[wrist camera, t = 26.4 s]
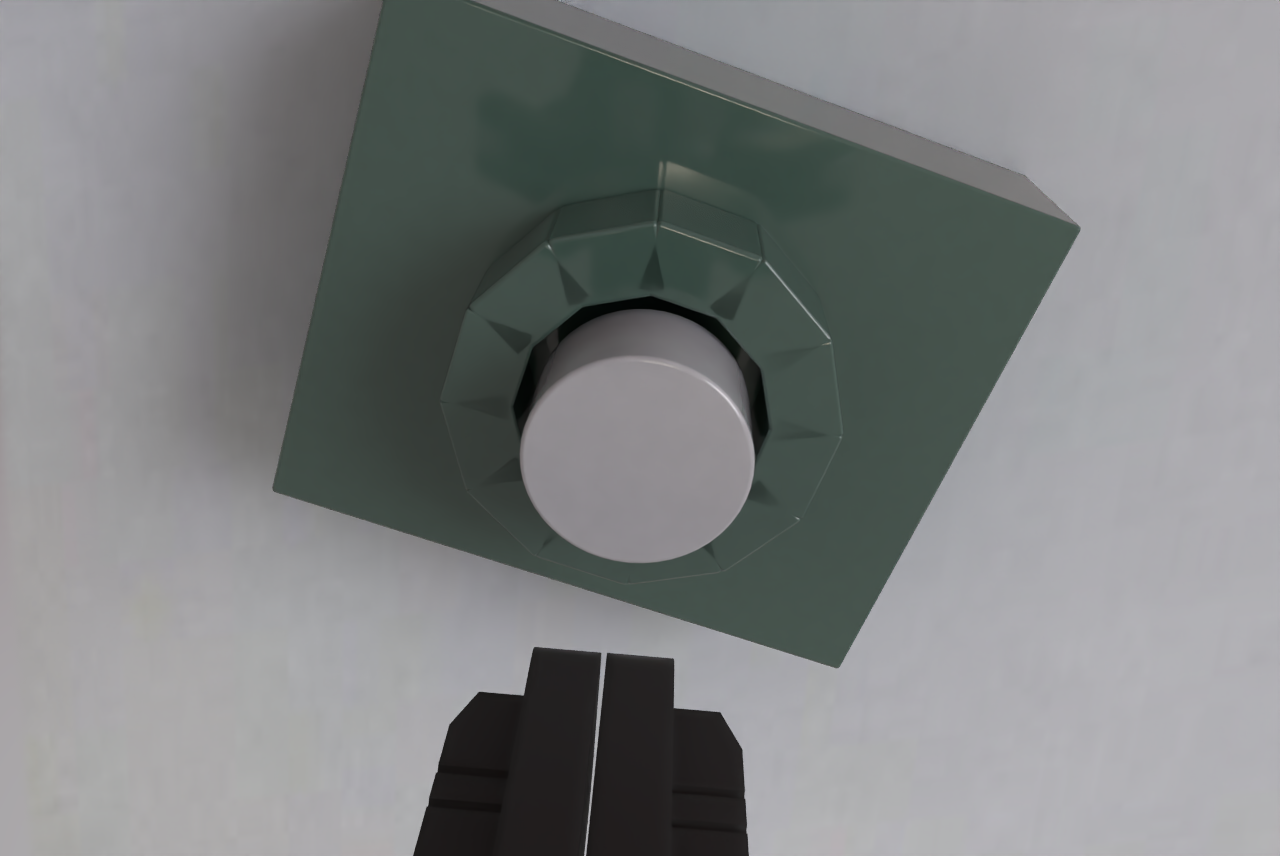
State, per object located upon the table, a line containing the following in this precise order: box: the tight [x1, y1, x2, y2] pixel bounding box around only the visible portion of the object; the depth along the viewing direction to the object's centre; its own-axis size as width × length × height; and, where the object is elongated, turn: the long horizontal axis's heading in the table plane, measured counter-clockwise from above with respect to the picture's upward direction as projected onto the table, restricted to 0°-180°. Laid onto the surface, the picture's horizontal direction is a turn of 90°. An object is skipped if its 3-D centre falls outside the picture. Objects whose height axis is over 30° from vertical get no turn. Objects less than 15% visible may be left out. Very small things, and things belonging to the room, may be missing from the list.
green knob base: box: [272, 0, 1080, 668], centre depth 21 cm, size 12×10×6 cm
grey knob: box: [519, 309, 755, 563], centre depth 18 cm, size 4×4×2 cm
